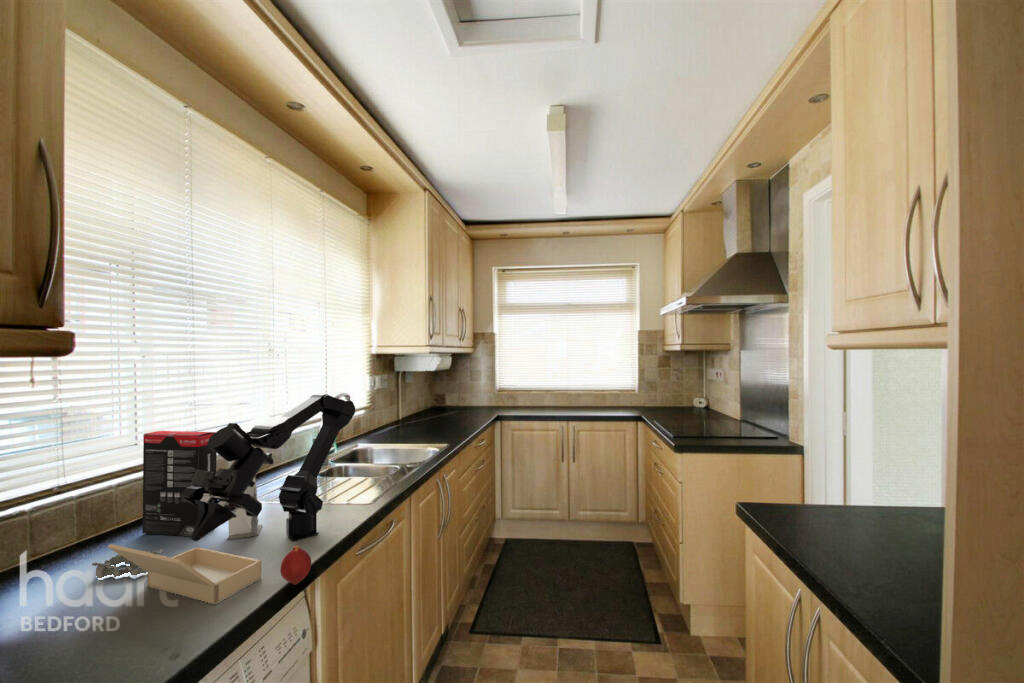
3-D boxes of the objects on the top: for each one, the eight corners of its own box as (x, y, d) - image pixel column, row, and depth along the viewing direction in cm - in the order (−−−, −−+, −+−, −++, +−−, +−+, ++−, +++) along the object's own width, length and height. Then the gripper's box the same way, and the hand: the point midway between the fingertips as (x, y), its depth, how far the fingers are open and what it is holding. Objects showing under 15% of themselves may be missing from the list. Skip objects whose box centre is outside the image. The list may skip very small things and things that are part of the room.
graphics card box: (218, 527, 121) (219, 429, 121) (198, 538, 114) (199, 434, 114) (162, 525, 122) (163, 429, 123) (139, 536, 115) (140, 433, 116)
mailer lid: (110, 543, 84) (107, 546, 84) (180, 559, 78) (177, 563, 77) (147, 567, 90) (145, 570, 90) (215, 584, 83) (213, 587, 83)
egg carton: (87, 583, 92) (88, 563, 93) (118, 565, 100) (118, 547, 100) (139, 581, 93) (139, 562, 93) (166, 564, 100) (166, 546, 100)
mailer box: (196, 564, 100) (196, 547, 100) (261, 579, 93) (261, 560, 93) (147, 586, 90) (147, 567, 90) (215, 605, 83) (215, 584, 83)
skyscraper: (220, 541, 112) (221, 432, 113) (228, 529, 119) (229, 427, 120) (258, 535, 115) (258, 430, 116) (262, 524, 123) (263, 425, 123)
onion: (282, 579, 93) (282, 541, 93) (312, 574, 95) (312, 537, 95) (278, 593, 87) (278, 553, 87) (309, 588, 89) (310, 548, 89)
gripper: (188, 450, 98) (132, 517, 87) (249, 456, 91) (196, 530, 81) (222, 475, 105) (174, 540, 95) (281, 482, 99) (236, 553, 88)
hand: (193, 540), depth 89 cm, fingers closed
